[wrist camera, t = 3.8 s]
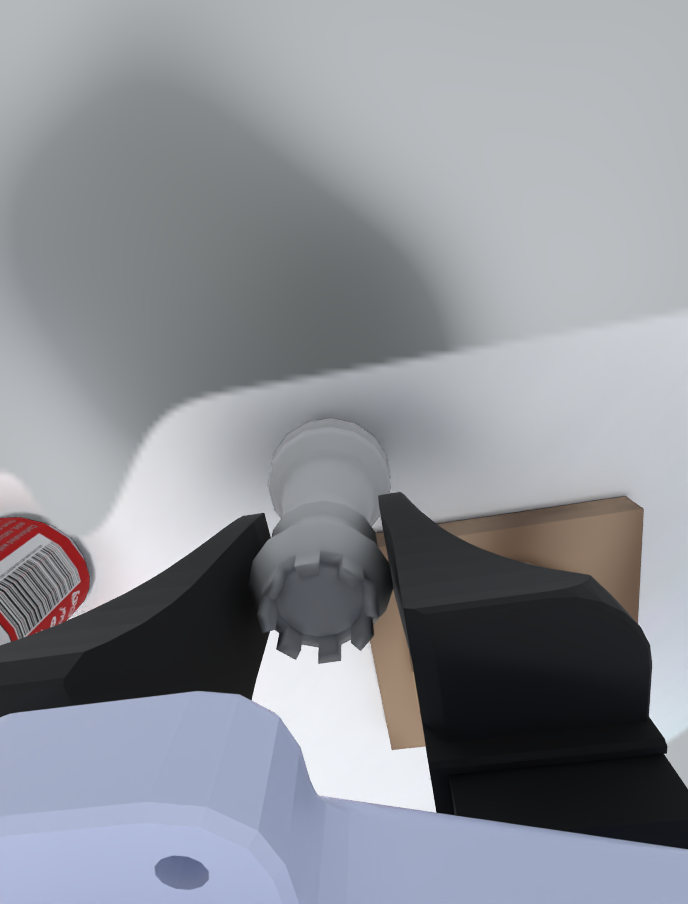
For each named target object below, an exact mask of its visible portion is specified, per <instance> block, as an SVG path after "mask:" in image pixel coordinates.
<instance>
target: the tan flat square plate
mask: <svg viewBox="0 0 688 904" xmlns="http://www.w3.org/2000/svg"><path fill="white" fill-rule="evenodd" d="M643 512H644V509H643V508H642V507H640V506H639V505H637V504H636V503H635V502H633V501H632V500H630V499H629V498H628V497H626V496H624V497H617V498H611V499H604V500H597V501H590V502H584V503H577V504H570V505H563V506H556V507H550V508H543V509H536V510H529V511H522V512H516V513H509V514H502V515H495V516H488V517H482V518H475V519H468V520H461V521H454V522H448V523H441V524H437V525H439V526H440V527H442V528H443V529H445V530H446V531H448V532H449V533H451V534H453V535H455V536H456V537H458V538H460V539H462V540H464V541H466V542H468V543H470V544H472V545H474V546H477V547H479V548H481V549H484V550H487V551H489V552H492V553H495V554H497V555H500V556H503V557H506V558H509V559H513V560H516V561H520V562H524V563H528V564H532V565H536V566H540V567H544V568H550V569H556V570H563V571H569V572H575V573H581V574H588V575H591V576H592V577H593V578H594V579H595V580H596V581H597V582H598V583H599V584H600V585H602V586H603V587H604V588H605V589H606V590H607V591H608V592H609V593H610V594H611V595H612V596H613V597H614V598H615V599H616V600H617V601H618V602H619V603H620V604H621V606H622V607H623V608H624V609H625V610H626V611H627V612H628V613H629V615H630V616H631V617H632V618H633V619H634V620H635V621H636V623H637V624H638V609H639V589H640V570H641V551H642V531H643ZM376 539H377V545H378V548H379V549H380V550H381V552H382V553H383V555H384V556H385V558H386V559H387V561H388V555H387V550H386V544H385V538H384V532H380V533H376ZM388 562H389V561H388ZM373 626H374V637H373V638H372V639H371V640H370V643H371V648H372V653H373V658H374V663H375V668H376V673H377V678H378V683H379V688H380V693H381V698H382V703H383V708H384V713H385V718H386V723H387V728H388V733H389V738H390V743H391V748H392V750H396V749H405V748H415V747H424V746H426V745H425V739H424V732H423V726H422V720H421V714H420V708H419V702H418V696H417V689H416V683H415V677H414V671H413V665H412V660H411V656H410V652H409V648H408V645H407V641H406V637H405V633H404V629H403V625H402V622H401V618H400V614H399V610H398V606H397V602H396V598H395V594H394V591H392V594H391V597H390V600H389V604H388V607H387V610H386V611H385V612H384V614H383V615H382V616H381V617H380V618H379V619H378V620H377V621H376V623H375V624H374V625H373Z"/></svg>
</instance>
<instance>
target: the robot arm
mask: <svg viewBox="0 0 688 904" xmlns="http://www.w3.org/2000/svg"><path fill="white" fill-rule="evenodd" d="M378 502H379V508H380V514H381V520H382V526H383V532H384V538H385V544H386V550H387V555H388V561H389V563H390V569H391V575H392V581H393V587H394V588H393V591H394V594H395V598H396V602H397V606H398V610H399V614H400V618H401V622H402V625H403V629H404V633H405V637H406V641H407V645H408V648H409V652H410V656H411V660H412V665H413V671H414V677H415V683H416V689H417V696H418V702H419V708H420V714H421V720H422V726H423V732H424V739H425V745H426V751H427V758H428V764H429V770H430V776H431V782H432V788H433V794H434V800H435V806H436V812H437V813H434V812H427V811H420V810H413V809H407V808H400V807H393V806H386V805H379V804H372V803H365V802H358V801H352V800H345V799H338V798H331V797H324V796H319V795H318V794H317V793H316V792H315V790H314V788H313V785H312V783H311V781H310V778H309V775H308V771H307V768H306V765H305V761H304V758H303V755H302V751H301V748H300V746H299V745H298V743H297V742H296V740H295V739H294V737H293V736H292V734H291V733H290V731H289V730H288V729H287V727H286V726H285V724H284V723H283V721H282V720H281V718H280V717H279V716H278V715H277V714H275V713H274V712H272V711H270V710H268V709H266V708H264V707H262V706H261V705H259V704H257V703H255V702H253V701H251V700H252V695H253V691H254V687H255V683H256V678H257V675H258V671H259V668H260V664H261V661H262V657H263V654H264V650H265V647H266V643H267V640H268V636H269V633H270V631H269V632H265V633H262V630H261V626H260V623H259V619H258V616H257V613H258V610H257V609H256V608H255V605H254V602H253V598H252V595H251V592H250V588H249V585H248V584H249V579H250V573H251V567H252V562H253V560H254V558H255V557H256V556H257V554H258V553H259V551H260V550H261V549H262V547H263V546H264V545H265V543H266V542H267V541H268V540H269V539H270V538H271V537H270V533H269V529H268V525H267V522H266V518H265V514H264V513H260V514H253V515H247V516H242V517H240V518H238V519H237V520H235V521H234V522H232V523H231V524H229V525H228V526H227V527H225V528H224V529H222V530H221V531H220V532H218V533H217V534H216V535H214V536H213V537H212V538H210V539H209V540H208V541H206V542H205V543H204V544H202V545H201V546H200V547H198V548H197V549H195V550H194V551H193V552H191V553H190V554H188V555H187V556H185V557H184V558H182V559H181V560H179V561H178V562H177V563H175V564H174V565H172V566H171V567H169V568H168V569H166V570H165V571H163V572H162V573H160V574H158V575H157V576H155V577H154V578H152V579H150V580H149V581H147V582H145V583H143V584H141V585H140V586H138V587H136V588H134V589H133V590H131V591H129V592H127V593H125V594H123V595H121V596H119V597H117V598H115V599H113V600H111V601H109V602H107V603H105V604H103V605H101V606H99V607H97V608H94V609H92V610H90V611H88V612H86V613H84V614H82V615H79V616H77V617H75V618H72V619H70V620H68V621H65V622H63V623H60V624H58V625H55V626H53V627H50V628H48V629H45V630H43V631H40V632H37V633H35V634H32V635H29V636H26V637H24V638H21V639H18V640H15V641H12V642H9V643H6V644H3V645H0V904H688V789H687V787H686V786H685V784H684V783H683V781H682V780H681V779H680V777H679V776H678V774H677V773H676V771H675V770H674V768H673V767H672V765H671V764H670V762H669V761H668V759H667V758H666V757H665V755H664V754H665V753H667V744H666V742H665V739H664V737H663V736H662V734H661V733H660V732H659V730H658V729H657V727H656V726H655V725H654V723H653V722H652V720H651V719H650V718H649V705H650V689H651V674H652V659H651V650H650V644H649V642H648V640H647V638H646V637H645V635H644V633H643V631H642V629H641V627H640V626H639V625H638V624H637V623H636V621H635V620H634V619H633V618H632V617H631V616H630V615H629V613H628V612H627V611H626V610H625V609H624V608H623V607H622V606H621V604H620V603H619V602H618V601H617V600H616V599H615V598H614V597H613V596H612V595H611V594H610V593H609V592H608V591H607V590H606V589H605V588H604V587H603V586H602V585H600V584H599V583H598V582H597V581H596V580H595V579H594V578H593V577H592V576H591V575H588V574H581V573H575V572H569V571H563V570H556V569H550V568H544V567H540V566H536V565H532V564H528V563H524V562H520V561H516V560H513V559H509V558H506V557H503V556H500V555H497V554H495V553H492V552H489V551H487V550H484V549H481V548H479V547H477V546H474V545H472V544H470V543H468V542H466V541H464V540H462V539H460V538H458V537H456V536H455V535H453V534H451V533H449V532H448V531H446V530H445V529H443V528H442V527H440V526H439V525H437V524H436V523H435V522H433V521H432V520H431V519H430V518H428V517H427V516H426V515H425V514H423V513H422V512H421V511H420V510H419V509H418V508H417V507H416V506H415V505H414V504H412V502H411V501H410V500H409V499H408V498H407V497H406V496H405V495H404V494H402V493H401V492H397V493H391V494H384V495H378Z"/></svg>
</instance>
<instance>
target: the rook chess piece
mask: <svg viewBox="0 0 688 904" xmlns="http://www.w3.org/2000/svg"><path fill="white" fill-rule="evenodd" d="M268 487H269V491H270V495H271V499H272V503H273V507H274V510H275V511H276V513H277V514H278V515H279V517H280V518H281V520H280V522H279V523H278V524H277V526H276V527H275V528H274V530H273V533H272V538H270V539H269V540H268V541H267V542H266V543H265V545H264V546H263V547H262V549H261V550H260V551H259V553H258V554H257V556H256V557H255V558H254V560H253V562H252V567H251V573H250V579H249V584H248V585H249V588H250V592H251V595H252V598H253V602H254V605H255V608H256V609H257V610H258V613H257V616H258V619H259V623H260V626H261V630H262V633H265V632H269V631H272V630H276V631H277V632H278V633H279V638H278V643H277V648H276V649H277V650H279V651H280V652H282V653H284V654H286V655H288V656H290V657H292V658H293V659H295V660H296V659H297V657H298V655H299V653H300V651H301V645H308V646H314V647H319V653H318V664H320V663H327V662H335V661H341V644H343V643H345V642H347V641H349V640H351V643H352V644H353V645H354V646H355V647H357V648H358V649H359V650H360V651H361V650H362V649H363V648H364V647H365V645H366V644H367V643H368V642H369V641H370V640H371V639H372V638H373V637H374V626H373V625H374V624H375V623H376V621H377V620H378V619H379V618H380V617H381V616H382V615H383V614H384V612H385V611H386V610H387V607H388V604H389V600H390V597H391V594H392V591H393V588H394V587H393V581H392V575H391V569H390V563H389V562H388V561H387V559H386V558H385V556H384V555H383V553H382V552H381V550H380V549H379V548H378V545H377V539H376V533H375V531H374V530H373V528H372V527H371V526H372V525H373V524H374V523H375V521H376V520H377V519H378V518H379V517H380V515H381V514H380V508H379V502H378V495H384V494H389V492H390V488H391V485H390V472H389V466H388V459H387V455H386V454H385V452H384V450H383V449H382V447H381V446H380V444H379V443H378V441H377V439H376V438H375V436H373V435H372V434H370V433H369V432H367V431H366V430H364V429H363V428H361V427H360V426H358V425H357V424H356V423H352V422H348V421H343V420H338V419H334V418H327V419H322V420H316V421H310V422H306V423H304V424H303V425H301V426H300V427H298V428H296V429H295V430H293V431H292V432H290V433H288V434H287V435H286V436H285V438H284V439H283V441H282V442H281V444H280V445H279V447H278V448H277V449H276V451H275V452H274V455H273V461H272V464H271V469H270V475H269V481H268Z"/></svg>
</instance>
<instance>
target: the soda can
mask: <svg viewBox="0 0 688 904" xmlns="http://www.w3.org/2000/svg"><path fill="white" fill-rule="evenodd" d="M89 582H90V576H89V572H88V569H87V566H86V562H85V559H84V557H83V555H82V554H81V552H80V551H79V549H78V548H77V546H76V544H75V543H74V541H73V540H72V538H70V537H69V536H67V535H66V534H64V533H63V532H62V531H60V530H59V529H57V528H56V527H54V526H53V525H49V524H45V523H42V522H38V521H34V520H29V519H25V518H21V517H10V518H0V645H3V644H6V643H9V642H12V641H15V640H18V639H21V638H24V637H26V636H29V635H32V634H35V633H37V632H40V631H43V630H45V629H48V628H50V627H53V626H55V625H58V624H60V623H63V622H65V621H67V620H68V618H69V617H70V616H71V615H72V614H73V613H74V612H75V611H76V610H77V609H78V607H79V606H80V605H81V604H82V603H83V601H84V600H85V598H86V595H87V593H88V590H89Z"/></svg>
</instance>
